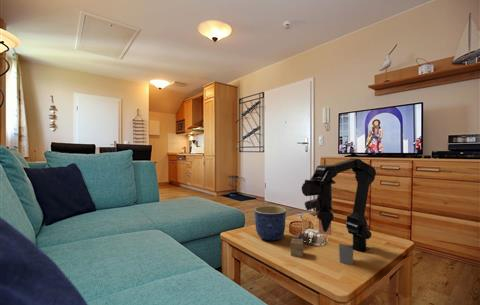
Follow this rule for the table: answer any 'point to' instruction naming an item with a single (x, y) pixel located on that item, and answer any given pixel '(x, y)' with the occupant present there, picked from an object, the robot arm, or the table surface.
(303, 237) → the walkie-talkie
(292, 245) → the walnut block
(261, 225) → the planter
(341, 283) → the table surface
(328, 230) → the terracotta block
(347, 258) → the charcoal block
